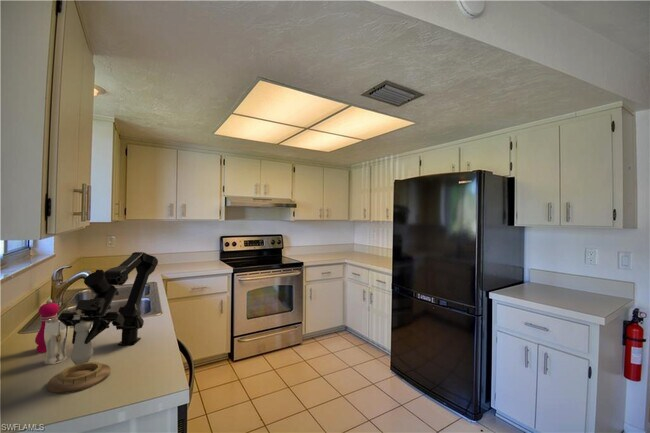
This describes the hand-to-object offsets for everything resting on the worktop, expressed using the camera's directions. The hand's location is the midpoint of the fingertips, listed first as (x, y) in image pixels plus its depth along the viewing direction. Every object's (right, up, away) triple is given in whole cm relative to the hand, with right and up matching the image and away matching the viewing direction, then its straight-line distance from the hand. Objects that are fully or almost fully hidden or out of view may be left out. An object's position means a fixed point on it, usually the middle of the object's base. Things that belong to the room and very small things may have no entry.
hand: (79, 343), depth 96 cm
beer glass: (-19, -12, +13) cm, 26 cm away
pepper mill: (-31, -12, +21) cm, 39 cm away
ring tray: (0, -12, +1) cm, 12 cm away
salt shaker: (0, -7, +1) cm, 7 cm away
